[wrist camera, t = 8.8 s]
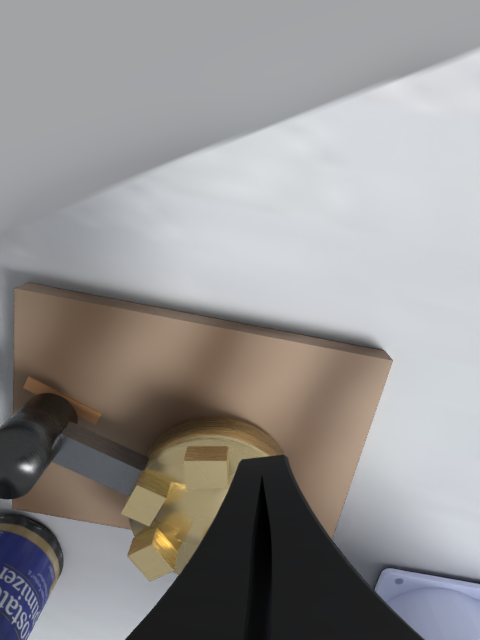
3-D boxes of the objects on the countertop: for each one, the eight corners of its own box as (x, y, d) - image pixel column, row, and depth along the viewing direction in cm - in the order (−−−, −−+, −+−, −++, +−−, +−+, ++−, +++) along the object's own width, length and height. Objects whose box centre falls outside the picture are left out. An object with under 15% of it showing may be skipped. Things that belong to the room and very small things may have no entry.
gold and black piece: (321, 459, 20) (340, 534, 16) (247, 561, 23) (245, 652, 18) (61, 331, 19) (0, 376, 14) (9, 456, 21) (-57, 528, 17)
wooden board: (385, 350, 20) (393, 361, 19) (320, 545, 24) (324, 565, 23) (28, 282, 20) (13, 288, 18) (23, 493, 24) (11, 510, 23)
